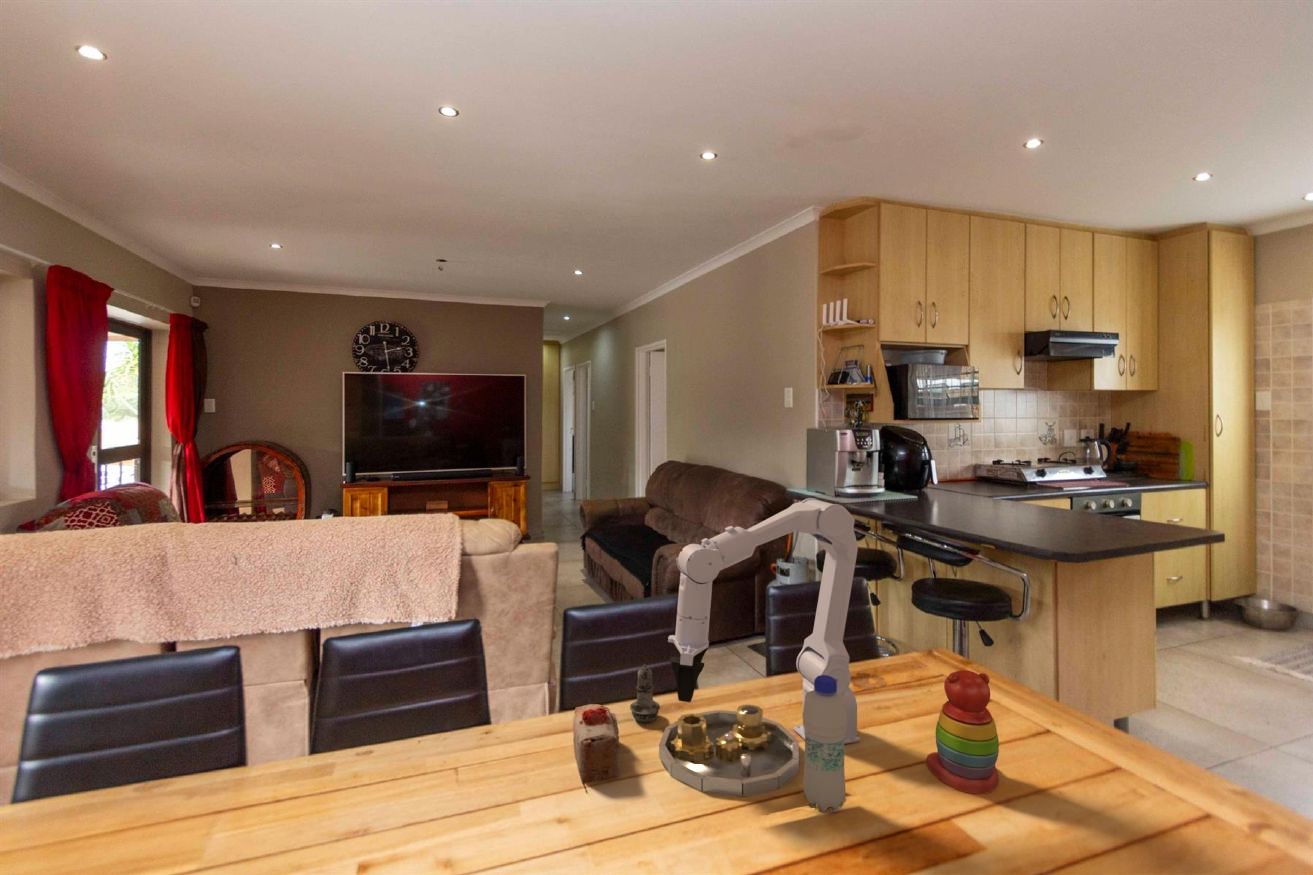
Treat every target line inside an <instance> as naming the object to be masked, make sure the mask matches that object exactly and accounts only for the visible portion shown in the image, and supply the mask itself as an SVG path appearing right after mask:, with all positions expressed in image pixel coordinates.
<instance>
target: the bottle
mask: <svg viewBox="0 0 1313 875" xmlns="http://www.w3.org/2000/svg"><path fill="white" fill-rule="evenodd" d="M802 725H803V726H804V728H805V739H804V771H803V785H802V786H803V788H802V789H803V794H804V795H805V798H806V800H807V802H808V803H809V806H810V808H812V809H816V807H817V806H818V808H819V810H820V812H821V813H826V811H827V809H828V808H830V811H831V812H832V813H836V812H837V811H839V809H840V808H841V807H843V805H844V803H845V801H846V776H845V774H846V773H845V744H844V743H845V735H844V734H845V732H846V730H847V726H846V725H847V715H846V707H845V700H844V698H843V697H842V696H841V695H840V694H838V693H837V683H836V680H835V679H834V678H833V677H831V676H828V675H820V676H817V677H816V678H815V681H814V690H813V691H810V692H808V693H807V694H806V696H805V702H804V709H803V708H802Z"/></svg>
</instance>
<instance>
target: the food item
mask: <svg viewBox="0 0 1313 875" xmlns="http://www.w3.org/2000/svg"><path fill="white" fill-rule="evenodd" d="M611 710H612V708H609V707H608V706H605V705H601V704H595V703H588V704H585V705H582V706H576V707H575V710H574V716H573V724H572V725H573V726H572V727H573V730H572V731H573V733H572V734H573V749H574V756H575V761H576V765H577V766H576V767H577V771H578V773H579V774H578V775H579V777H580V781H581V784H582V786H583V788H584V789H587V787H586V784H585V783H596V782H597V783H598V782H603V781H609V780H612V779H613V780H614V779H618V778H620V777H621V774H620V769H621V761H620V758H621V757H620V753H621V750H620V736H619V733H620V731H619V727H618V721H619V720H618V717H617V715H616V713H614V712H610V711H611Z"/></svg>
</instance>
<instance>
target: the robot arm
mask: <svg viewBox="0 0 1313 875" xmlns="http://www.w3.org/2000/svg"><path fill="white" fill-rule="evenodd" d="M855 522H856V520H855V518H854V517H853V515H852V514H851V512H849V511H848V510H847V508H846V507H844V506H843V505H841V504H837V503H834V504H833V503H830V502H827V501H822V500H820V499H817V498H813V497H807V498H805V499H803V500H802V501H801V502H800V501H799V502H794V503H792V504H791V505H790V506H788V507H787V508H786V509H783V510H782V511H780V512H778V513H776V514H774V515H772V516H771V517H768V518H766V519H765V520H763V521H760V522H759V523H757V524H756V525H752V526H751V527H749V528H747V529H745V528H743V527H741V526H735V527H734V526H732V525H730V526H726V527H725V528H724V530H725V531H724V532H722V533H719V534H717V535H715V536H713V537H711V538H709V539H708V538H707V537H705V538H703V539H701V544H699V543H690V544H687V545H685V546H684V547H683V548H682V551H680V552H679V555H678V557H676V559H675V562H676V566H677V569H678V570H679V572H680V576H679V586H678V598H677V608H676V609H677V611H676V624H675V634H671V635H669V636H668V637H667V638H668V640H667V642H668V643H672V644H674V645H675V647H676V649H677V650H678V652H679V654H680V657H677V656H671V658H670V666H671V669H672V671H673V673H674V677H675V684H676V692H677V693H676V694H677V699H678V701H679V702H684V703H691V702H692V701H693V700H692V699H693V697H694V693H695V688H696V685H697V681H698V679H699V676H700V674H701V672H702V671H703V669H704V668H705V662H702V661H703V658H704V656H705V654H706V652H707V651H708V649H709V645H710V644H709V643H710V641H709V631H710V630H709V629H710V618H711V616H710V615H711V607H712V606H711V604H712V592H713V581H714V580H715V579H716V578H717V577H718V575H719V573H720V572H721V571H723V570H725V569H727V568H729V567H731V566H734V565H735V564H737V563H740V562H741V561H744V560H746V559H749V558H750V557H752V556H753V554H754V552H755V549H756V547H759V546H762V545H763V544H767V543H768V542H771V541H773V540H776V539H778V538H781V537H783V536H786V535H788V534H791V533H794V532H800V533H804V534H805V533H806V534H809V535H811V536H812V537H814V538H815V539H816V540H817V542H818V543H819V544H820V546H821V547H822V549H824V551H825V558H824V561H823V562H824V564H823V570H822V576H821V582H820V588H819V594H818V599H817V600H818V601H817V606H816V612H815V618H814V625H813V630H812V633H811V634H810V635H808V636H807V637H806V638H805V639H804V640H803V646H802V649H801V651H800V652H799V653H798V655H797V657H796V662H795V664H796V669H797V672H798V673H799V675H801V677H802V710H803V709H804V702H805V696H806V694H807V693H808V692H810V691H813V690H814V681H815V678H816V677H817V676H820V675H828V676H831V677H833V678H834V679H835V680H836V683H837V693H838V694H840V695H841V696H842V697H843V698H844V700H845V707H846V715H847V725H846V726H847V730H846V732H845V734H844V735H845V743H844V745H847V744H852V743H857V742H860V737H859V736H858V702H857V698H856V695H855V693H854V692H853V690H852V688H850V685H851V680H852V675H851V671H850V666H849V664H850V655H849V653H848V651H847V649H846V646H845V644H844V642H843V641H844V635H845V629H846V622H847V617H848V610H849V604H850V599H851V593H852V587H853V586H852V585H853V581H854V574H855V568H856V563H857V562H856V561H857V557H858V548H859V545H858V540H857V538H856V534H855V530H854V527H855ZM793 730H794V731H795V733H797V734H798V735H799V736H800V737H801V738H802V739H803V740H805V728H804V726H803V724H801V725H796V726H795V725H794V726H793Z"/></svg>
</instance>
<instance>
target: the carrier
mask: <svg viewBox="0 0 1313 875" xmlns="http://www.w3.org/2000/svg"><path fill="white" fill-rule="evenodd" d="M763 712H764V710H763V708H761V707H759V706H758V705H755V704H742V705H739V706H738V707H737V709H736V711H733V710H732V711H731V710H723V709H722V710H721V709H717V710H710V711H704V712H700V713H698V712H697V713H696V714H697V715H701V716H703V717H704V719H705V720H706V736H708V737H709V740H710V742H713V752H711V753H710V754H709V758H707V759H700V760H695V761H689V760H686V759H682V758H677V757H675V753H674V751H673V750H671V741H673V740H674V739H675V738H676V736H677V735H678V720H677V721H675V722H673V723H671V724H669V725H667V726H666V727H665V729H664V731H663V734H662V736H661V739H660V741H659V743H658V758H659V759H660V762H661V764H662V766H663V768H664V770H666V772H667V773H668V774H669V776H671V778H673V779H675V780H677V781H678V782H680V784H681V783H682V785H684V786H688V787H689V788H692V789H694V790H697V791H699V792H702V793H707V794H712V795H716V796H717V795H719V796H726V797H727V796H728V797H729V796H730V797H747V796H756V795H762V794H766V793H769V792H772V791H776V790H778V789H781V788H782V787H783V786H785V785H787V784H788V783H789V782H792V780H793V779H794V778H795V776H796V775H797V774H798V773H799V772H800V766H801V764H800V763H801V760H800V759H801V758H800V750H799V747H800V746H799V745H800V744H799V740H798V738H797V737H795V736H794V735H793V734H792V733H791V732H790V731H789V730H788V729H787V728H785V727H784V726H783V725H782V724H781V723H779V722H777V721H775V720H771V719H769V718H766V717H764V714H763Z"/></svg>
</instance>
